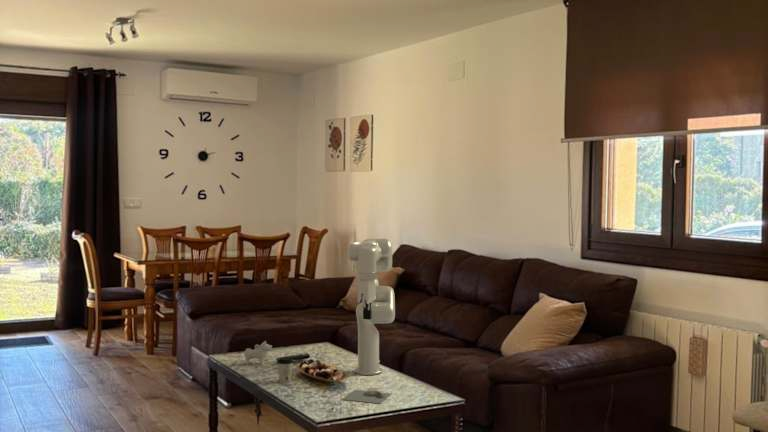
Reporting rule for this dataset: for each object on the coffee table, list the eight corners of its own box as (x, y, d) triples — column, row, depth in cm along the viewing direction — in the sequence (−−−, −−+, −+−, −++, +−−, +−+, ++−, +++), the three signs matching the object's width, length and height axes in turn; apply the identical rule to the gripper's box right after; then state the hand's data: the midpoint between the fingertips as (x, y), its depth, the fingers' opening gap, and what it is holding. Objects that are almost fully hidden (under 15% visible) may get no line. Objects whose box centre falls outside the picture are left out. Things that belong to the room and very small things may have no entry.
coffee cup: (290, 384, 324) (290, 360, 323) (274, 383, 325) (274, 360, 324) (295, 379, 330) (295, 357, 330) (280, 379, 332) (280, 356, 331)
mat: (354, 390, 314) (354, 389, 314) (391, 394, 309) (391, 393, 309) (341, 399, 301) (341, 399, 301) (380, 404, 296) (380, 403, 296)
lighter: (367, 392, 311) (367, 398, 303) (367, 388, 311) (367, 393, 303) (384, 392, 311) (384, 398, 303) (384, 388, 311) (384, 393, 303)
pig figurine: (272, 365, 356) (271, 342, 355) (244, 365, 354) (244, 343, 354) (272, 362, 361) (272, 340, 361) (244, 363, 360) (244, 340, 359)
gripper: (365, 272, 329) (365, 314, 331) (352, 278, 315) (352, 322, 317) (381, 273, 327) (381, 315, 328) (369, 279, 313) (369, 323, 314)
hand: (367, 318), depth 323 cm, fingers closed
